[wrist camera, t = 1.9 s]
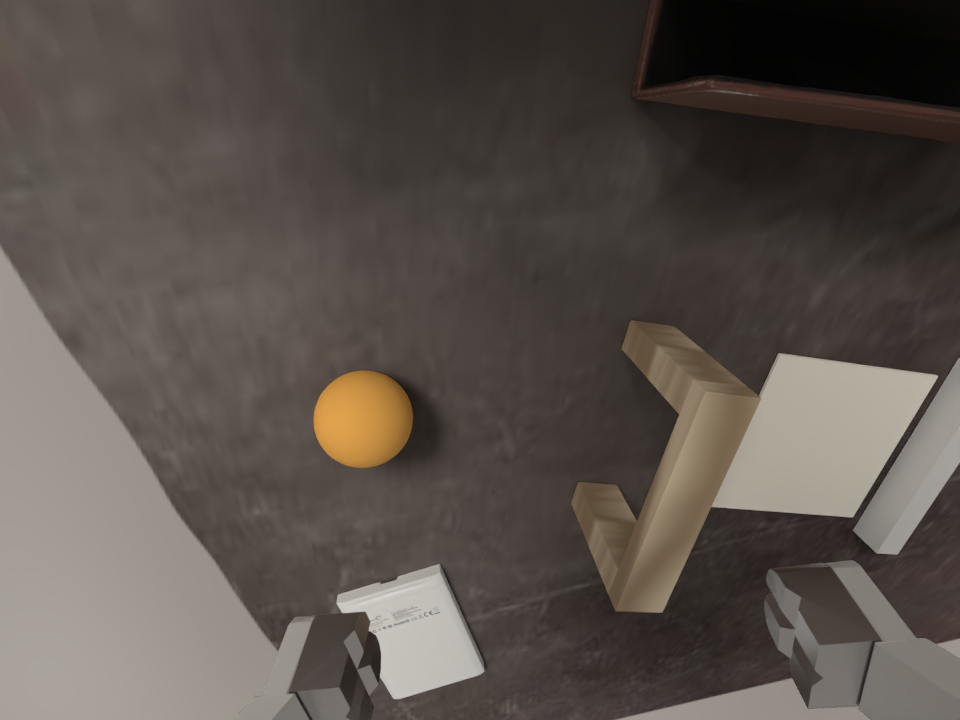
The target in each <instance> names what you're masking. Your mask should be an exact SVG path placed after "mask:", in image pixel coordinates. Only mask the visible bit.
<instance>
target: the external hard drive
mask: <svg viewBox="0 0 960 720" xmlns="http://www.w3.org/2000/svg"><path fill="white" fill-rule="evenodd" d="M337 605H338V607H339V608H340V610H341V612H342V613H353V612H366V613H367V615H368V618H369V620H370V626H369V631H370V632H371V633H373V634H375V635H376V636H377V639H378V641H379V645H380V650H381V672H380V678H381V679H382V681H383V682H384V684H385V686H386V687H387V689H388V691H389V692H390V694H391V696H392V697H393V698H394V699H401V698H404V697H408V696H411V695H415V694H418V693H421V692H424V691H428V690H431V689H435V688H438V687H441V686H444V685H448V684H451V683H455V682H458V681H462V680H465V679H468V678H471V677H475V676H478V675H480V674H482V673H483V672H484V670H485V669H484V661H483V659H482V657H481V655H480V653H479V650H478V648H477V646H476V644H475V641H474V639H473V637H472V635H471V632H470V630H469V628H468V626H467V623H466V621H465V619H464V617H463V615H462V612H461V610H460V608H459V606H458V603H457V601H456V599H455V597H454V594H453V592H452V590H451V588H450V585H449V583H448V581H447V579H446V577H445V574H444V572H443V570H442V567H441V565H440V564H438V565H434V566H431V567H428V568H425V569H421V570H418V571H415V572H411V573H408V574H405V575H402V576H398V577H397V579H395V580H392V581H389V582H386V583H380V582H379V583H375V584H372V585H369V586H365V587H362V588H359V589H355V590H352V591H349V592H345V593H342V594H339V595H338V597H337Z"/></svg>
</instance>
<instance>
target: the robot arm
mask: <svg viewBox="0 0 960 720" xmlns="http://www.w3.org/2000/svg"><path fill="white" fill-rule="evenodd" d="M766 583H767V584H768V586H769V588H770V590H771V592H770V593H769V594H768V595H767V596H766V597H765V601H764V612H765V617H766V622H767V626H768V628H769V631H770V634H771V636H772V638H773V640H774V642H775V645H776V647H777V649H778V650H780V651H781V652H782V653H784V654H785V655H786V656H788V657H789V658H790V659H791V664H790V672H789V673H790V674H791V676H792V678H793V680H794V682H795V684H796V686H797V688H798V690H799V692H800V694H801V696H802V698H803V699H804V702H805V704H806V706H807V708H808V709H814V708H835V707H856V706H859V708H858V709H859V710H860V711H861V712H862V713H863V714H864V715H866V716H867V717H868V718H869V719H870V720H960V658H958V657H956V656H955V655H953V654H951V653H950V652H948V651H946V650H945V649H943V648H941V647H940V646H938V645H936V644H935V643H933V642H931V641H930V640H928V639H926V638H918V639H917V638H916V637H915V636H914V634H913V633H912V632H911V631H910V629H909V628H908V627H907V625H906V624H905V623H904V621H903V620H902V619H901V618H900V616H899V615H898V614H897V612H896V611H895V610H894V609H893V607H892V606H891V605H890V603H889V602H888V601H887V600H886V598H885V597H884V596H883V594H882V593H881V592H880V590H879V589H878V588H877V587H876V585H875V584H874V583H873V581H872V580H871V579H870V578H869V576H868V575H867V574H866V572H865V571H864V570H863V569H862V567H861V566H860V565H859V564H858V563H856V562H855V561H853V560H851V561H840V562H831V563H824V564H823V563H816V564H807V565H799V566H790V567H782V568H773V569H770V570H769V571H768V573H767V579H766ZM369 626H370V620H369V618H368V615H367V613H366V612H353V613H339V614H326V615H313V616H302V617H295V618H294V619H293V620H292V621H291V623H290V624H289V625H288V628H287V631H286V633H285V636H284V638H283V641H282V644H281V646H280V649H279V651H278V654H277V657H276V659H275V662H274V665H273V667H272V670H271V672H270V675H269V678H268V680H267V683H266V686H265V688H264V691H263V693H262V696H256V697H254V698H253V699H252V700H251V701H250V702H249V703H248V704H247V705H246V706H245V707H244V708H243V709H242V710H241V712H239V714H238V715H237V716H236V717H235V718H234V719H233V720H371V719H372V714H373V709H374V706H373V704H372V701H371V699H370V697H369V695H370V694H371V693H372V691H373V690H374V689H375V688H376V686H377V685H378V683H379V677H380V672H381V650H380V645H379V641H378V639H377V636H376V635H375V634H373V633H371V632H370V631H369Z"/></svg>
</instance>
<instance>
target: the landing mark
mask: <svg viewBox="0 0 960 720" xmlns="http://www.w3.org/2000/svg"><path fill="white" fill-rule="evenodd" d="M937 378H938V376H937V375H934V374H927V373H920V372H912V371H905V370H898V369H891V368H884V367H877V366H869V365H862V364H855V363H848V362H841V361H833V360H826V359H819V358H812V357H805V356H798V355H790V354H783V353H778V355H777V357H776V359H775V361H774V364H773V366H772V368H771V370H770V372H769V374H768V377H767V379H766V381H765V383H764V385H763V387H762V390H761V392H760V394H759V397H761V400H760V403H759V405H758V407H757V409H756V411H755V413H754V416H753V418H752V420H751V422H750V424H749V426H748V429H747V431H746V433H745V435H744V437H743V439H742V442H741V444H740V446H739V448H738V450H737V452H736V455H735V457H734V459H733V461H732V463H731V465H730V468H729V470H728V472H727V474H726V476H725V478H724V480H723V483H722V485H721V487H720V489H719V491H718V493H717V496H716V498H715V500H714V502H713V504H712V506H711V507H719V508H732V509H746V510H759V511H772V512H786V513H799V514H813V515H826V516H840V517H853V516H854V515H855V513H856V512H857V510H858V508H859V507H860V505H861V503H862V502H863V500H864V498H865V497H866V495H867V493H868V492H869V490H870V488H871V487H872V485H873V483H874V482H875V480H876V479H877V477H878V475H879V474H880V472H881V470H882V469H883V467H884V465H885V464H886V462H887V460H888V459H889V457H890V455H891V454H892V452H893V450H894V449H895V447H896V446H897V444H898V442H899V441H900V439H901V437H902V436H903V434H904V432H905V431H906V429H907V427H908V426H909V424H910V422H911V421H912V419H913V417H914V416H915V414H916V413H917V411H918V409H919V408H920V406H921V404H922V403H923V401H924V399H925V398H926V396H927V394H928V393H929V391H930V389H931V388H932V386H933V384H934V383H935V381H936V380H937Z"/></svg>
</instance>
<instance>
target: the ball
mask: <svg viewBox="0 0 960 720" xmlns="http://www.w3.org/2000/svg"><path fill="white" fill-rule="evenodd" d="M412 424H413V412H412V406H411V403H410V400H409V398H408V396H407V394H406V392H405V391H404V390H403V388H402V387H401V386H400V385H399V384H398V383H397V382H396V381H394V380H393V379H392V378H390V377H388V376H386V375H384V374H382V373H379V372H375V371H366V370H363V371H354V372H350V373H347V374H345V375H342V376H340V377H339V378H337V379H335V380H334V381H333V382H332V383H330V384H329V385H328V386H327V387H326V389H325V390H324V391H323V392H322V394H321V395H320V397H319V399H318V402H317V404H316V407H315V412H314V429H315V433H316V436H317V439H318V441H319V443H320V445H321V446H322V448H323V449H324V450H325V452H326V453H327V454H328V455H329V456H330V457H332V458H333V459H335V460H336V461H338V462H340V463H342V464H344V465H347V466H350V467H355V468H369V467H374V466H377V465H381V464H383V463H385V462H387V461H389V460H390V459H392V458H393V457H394V456H396V455H397V454H398V453H399V452H400V451H401V449H402V448H403V447H404V445H405V444H406V442H407V440H408V438H409V436H410V433H411V430H412Z"/></svg>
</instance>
